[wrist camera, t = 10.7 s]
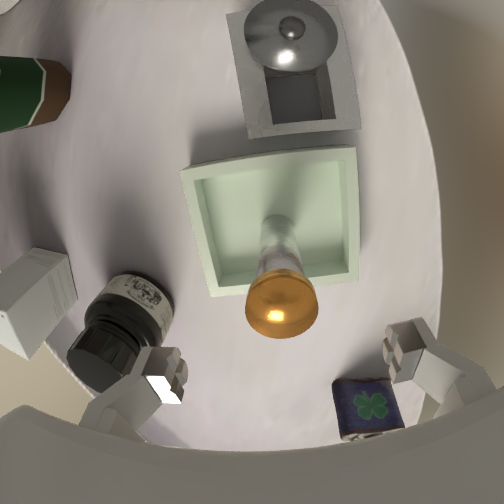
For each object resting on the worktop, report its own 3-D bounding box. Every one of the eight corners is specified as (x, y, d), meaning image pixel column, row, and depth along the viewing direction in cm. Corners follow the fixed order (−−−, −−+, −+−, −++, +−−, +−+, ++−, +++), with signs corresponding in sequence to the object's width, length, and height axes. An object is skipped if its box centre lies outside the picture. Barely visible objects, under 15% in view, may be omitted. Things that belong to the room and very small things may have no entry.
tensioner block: (234, 32, 18) (219, -1, 11) (324, 24, 17) (344, -9, 10) (252, 137, 22) (245, 141, 15) (343, 128, 21) (373, 129, 14)
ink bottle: (192, 305, 30) (160, 389, 19) (156, 341, 33) (125, 414, 23) (124, 252, 28) (62, 318, 17) (98, 297, 31) (49, 360, 20)
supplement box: (33, 245, 28) (-27, 293, 17) (69, 253, 29) (5, 312, 17) (44, 289, 32) (-6, 341, 20) (79, 301, 32) (29, 363, 20)
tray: (189, 165, 23) (179, 171, 21) (345, 144, 22) (355, 147, 19) (216, 280, 28) (210, 296, 26) (351, 265, 27) (358, 280, 24)
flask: (392, 376, 35) (412, 438, 24) (383, 388, 36) (400, 448, 26) (334, 377, 35) (345, 447, 24) (327, 389, 36) (336, 456, 26)
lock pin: (253, 212, 24) (239, 284, 13) (295, 207, 24) (317, 276, 13) (259, 251, 26) (251, 341, 15) (299, 246, 26) (318, 334, 14)
